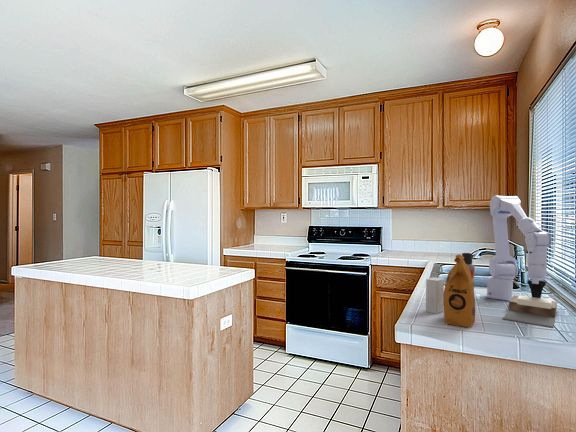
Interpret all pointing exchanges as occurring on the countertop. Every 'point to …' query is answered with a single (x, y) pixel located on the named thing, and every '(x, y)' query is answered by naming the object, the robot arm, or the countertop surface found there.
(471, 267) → the lotion bottle
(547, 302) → the block
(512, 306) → the board
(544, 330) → the countertop surface
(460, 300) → the coffee package
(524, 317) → the mat
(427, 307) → the skincare box
